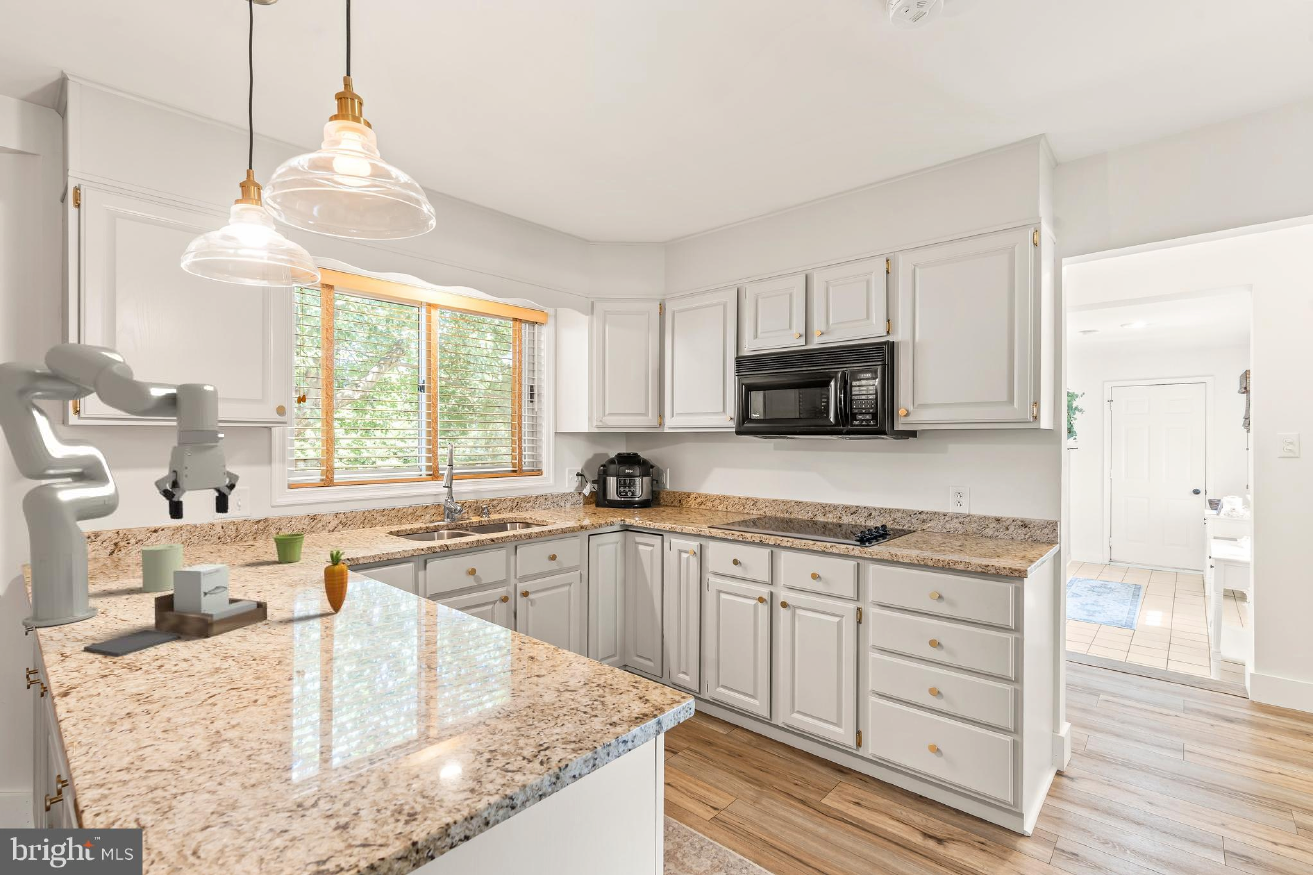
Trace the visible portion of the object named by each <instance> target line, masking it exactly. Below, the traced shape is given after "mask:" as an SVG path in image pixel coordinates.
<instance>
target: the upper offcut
mask: <svg viewBox="0 0 1313 875" xmlns="http://www.w3.org/2000/svg"><path fill="white" fill-rule="evenodd" d="M256 608H257V602H251V601H240V602H237V603H233V604H229V605H225V606H222V607H218V608H214V609H211V610H207V611H203V612H200V616H208V617H213V621H214V620H218V619H221V618H225V617H228V616H232V615H235V614H239V613H242V612H246V611H249V610H253V609H256Z"/></svg>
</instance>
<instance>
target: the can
mask: <svg viewBox="0 0 1313 875" xmlns="http://www.w3.org/2000/svg"><path fill="white" fill-rule="evenodd" d="M141 562H142V563H141V564H142V568H141V570H142V589H141V591H142V593H159V592H158V591H162V592H165V591H164V590H169V591H172V590H171V589H174V581H173V571H175V570H179V569H183V568H184V544H182V543H165V544H156V545H149V546H145V547H142V548H141Z"/></svg>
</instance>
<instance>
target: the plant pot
mask: <svg viewBox="0 0 1313 875" xmlns="http://www.w3.org/2000/svg"><path fill="white" fill-rule="evenodd" d="M305 536H306V533H282V534H277V535H273V536H272V539H274V543H275V547H276V548H275V549H276V553H277V554H276V555H277V559H278V563H280V564H289V563H296V562H300V560H301V557H302V549H303V542H304V540H305Z"/></svg>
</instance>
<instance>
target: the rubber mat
mask: <svg viewBox="0 0 1313 875" xmlns="http://www.w3.org/2000/svg"><path fill="white" fill-rule="evenodd" d="M181 638H182V637H181V634H177V633H170V632H164V631H162V632H161V631H158V630H149V629H146V630H145V629H144V630H142V631H137V632H133V633H130V634H126V635H123V636H118V637H116V638H112V639H108V640H104V641H101V642H97V643H94V644H89V645H86V646H84V647H83V651H88V652H93V653H97V654H105V655H108V656H109V655H110V656H115V657H122V656H124V655H129V654H132V653H135V652H138V651H141V650H145V649H148V648H152V647H155V645H156V646H159V645H162V644H165V643H168V642H172V641H175V640H179V639H181Z"/></svg>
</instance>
